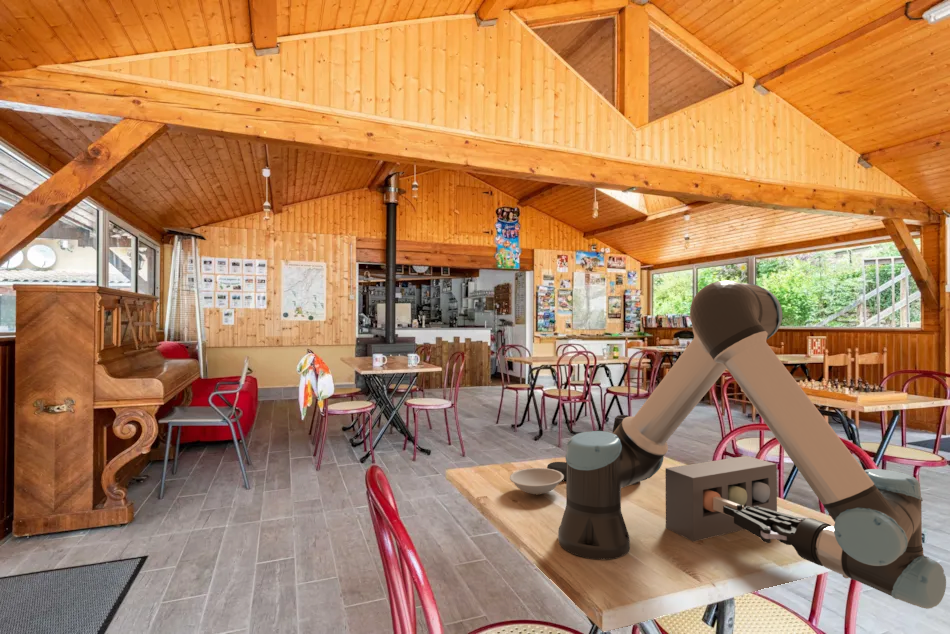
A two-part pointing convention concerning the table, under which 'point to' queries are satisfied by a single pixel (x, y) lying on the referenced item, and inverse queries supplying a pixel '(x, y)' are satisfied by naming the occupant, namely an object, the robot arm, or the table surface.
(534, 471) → the dish
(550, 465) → the smart speaker
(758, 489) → the grey rounded knob
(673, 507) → the console
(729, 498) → the sage button
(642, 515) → the table surface
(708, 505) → the terracotta button
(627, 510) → the table surface
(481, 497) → the table surface
